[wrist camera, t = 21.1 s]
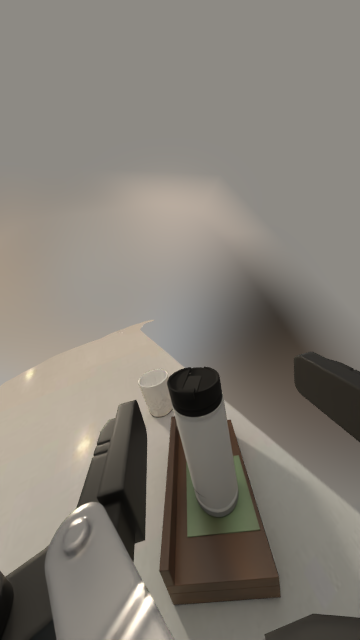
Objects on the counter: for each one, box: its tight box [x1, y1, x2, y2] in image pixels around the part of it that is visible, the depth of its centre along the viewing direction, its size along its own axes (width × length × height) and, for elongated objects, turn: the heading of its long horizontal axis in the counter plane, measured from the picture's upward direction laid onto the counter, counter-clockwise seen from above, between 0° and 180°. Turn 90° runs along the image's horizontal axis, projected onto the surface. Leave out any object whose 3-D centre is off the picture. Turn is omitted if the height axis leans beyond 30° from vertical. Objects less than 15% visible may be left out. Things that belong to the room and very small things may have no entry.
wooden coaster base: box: [159, 416, 281, 605], centre depth 29 cm, size 12×20×7 cm, turn 179°
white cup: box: [138, 369, 173, 417], centre depth 49 cm, size 8×8×10 cm
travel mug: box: [167, 367, 239, 517], centre depth 24 cm, size 6×7×20 cm
